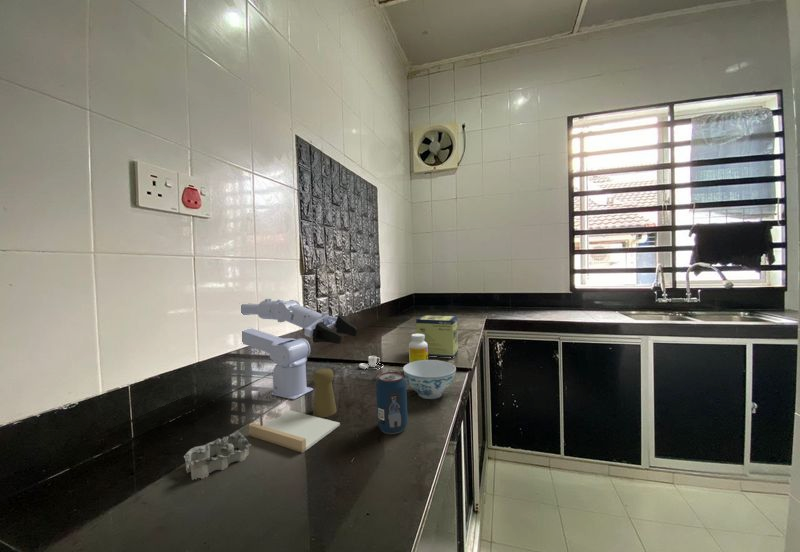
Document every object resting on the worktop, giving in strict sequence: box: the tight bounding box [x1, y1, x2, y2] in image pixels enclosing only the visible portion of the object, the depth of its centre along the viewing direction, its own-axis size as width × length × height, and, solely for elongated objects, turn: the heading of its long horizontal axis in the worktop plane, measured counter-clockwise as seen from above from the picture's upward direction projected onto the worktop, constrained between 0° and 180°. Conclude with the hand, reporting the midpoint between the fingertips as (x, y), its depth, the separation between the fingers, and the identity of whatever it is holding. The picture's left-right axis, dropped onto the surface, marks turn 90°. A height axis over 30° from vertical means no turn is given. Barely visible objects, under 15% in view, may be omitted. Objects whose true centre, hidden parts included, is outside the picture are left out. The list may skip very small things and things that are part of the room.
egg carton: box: [183, 429, 252, 481], centre depth 61 cm, size 10×7×4 cm
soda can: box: [375, 371, 408, 435], centre depth 71 cm, size 7×7×12 cm
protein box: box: [415, 315, 459, 358], centre depth 130 cm, size 10×16×16 cm
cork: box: [312, 368, 337, 418], centre depth 80 cm, size 6×6×11 cm
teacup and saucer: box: [358, 355, 384, 370], centre depth 116 cm, size 9×8×4 cm
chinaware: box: [402, 359, 457, 400], centre depth 89 cm, size 15×15×8 cm
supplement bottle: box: [408, 333, 429, 363], centre depth 110 cm, size 7×7×13 cm
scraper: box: [248, 410, 341, 454], centre depth 72 cm, size 16×12×2 cm
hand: (348, 336), depth 85 cm, fingers open, 7 cm apart
